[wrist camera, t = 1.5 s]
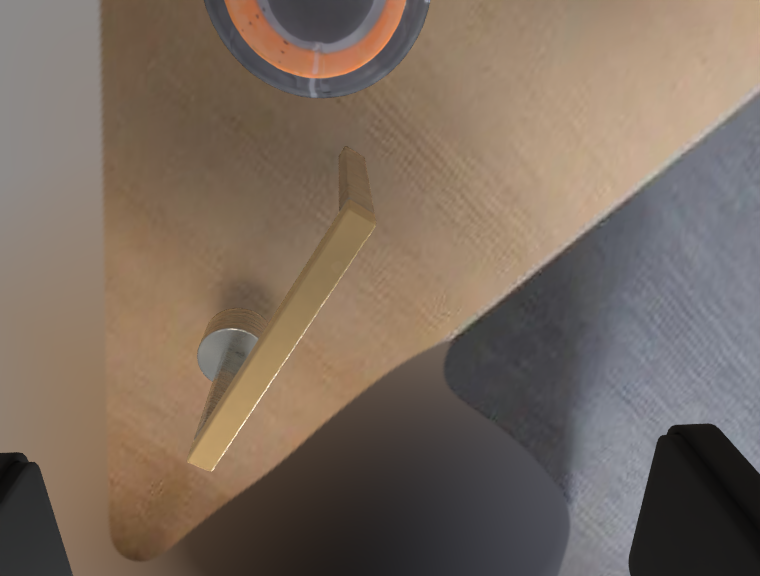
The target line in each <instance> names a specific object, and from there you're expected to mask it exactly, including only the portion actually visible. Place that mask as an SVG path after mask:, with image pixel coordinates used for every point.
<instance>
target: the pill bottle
mask: <svg viewBox="0 0 760 576" xmlns="http://www.w3.org/2000/svg"><path fill="white" fill-rule="evenodd" d="M204 2H205V6H206V9H207V11H208V14H209V16H210V19H211V21H212V24H213V25H214V27H215V29H216V31H217V33H218V35H219V37H220V38H221V40H222V41H223V43H224V44H225V45H226V47H227V48H228V49H229V51H230V52H231V53H232V55H233V56H234V57H235V58H236V59H237V60H238V61H239V62H240V63H241V64H242V65H243V66H244V67H245V68H246V69H247V70H249V71H250V72H251V73H252V74H253V75H255V76H256V77H258V78H259V79H261V80H262V81H264V82H266V83H268V84H269V85H271V86H273V87H275V88H277V89H279V90H282V91H284V92H287V93H290V94H294V95H298V96H301V97H309V98H331V97H338V96H345V95H348V94H352V93H355V92H357V91H360V90H362V89H364V88H367V87H369V86H371V85H373V84H374V83H376V82H377V81H379V80H380V79H382V78H383V77H385V76H386V75H387V74H388V73H390V72H391V71H392V70H393V69H394V68H395V67H396V66H397V65H398V64H399V63H400V62H401V61H402V60H403V58H404V57H405V56H406V55H407V53H408V51H409V50H410V49H411V47H412V46H413V44H414V42H415V40H416V39H417V37H418V35H419V33H420V31H421V29H422V27H423V24H424V21H425V18H426V15H427V12H428V8H429V4H430V0H204Z"/></svg>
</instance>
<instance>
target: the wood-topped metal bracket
mask: <svg viewBox="0 0 760 576" xmlns="http://www.w3.org/2000/svg"><path fill="white" fill-rule="evenodd" d="M375 226H376V219H375V214H374V207H373V202H372V196H371V190H370V185H369V179H368V173H367V168H366V162H365V158H364V157H363V156H362V155H360V154H359V153H357V152H355V151H354V150H352V149H350V148H349V147H347V146H345V147H344V148H343V150H342V152H341V153H340V155H339V214H338V215H337V217H336V218H335V220H334V222H333V223H332V225H331V226H330V228H329V229H328V231H327V233H326V234H325V236H324V237H323V239H322V240H321V242H320V244H319V245H318V247H317V248H316V250H315V251H314V253H313V255H312V256H311V258H310V259H309V261H308V262H307V264H306V266H305V267H304V269H303V270H302V272H301V273H300V275H299V277H298V278H297V280H296V281H295V283H294V284H293V286H292V288H291V289H290V291H289V292H288V294H287V295H286V297H285V299H284V300H283V302H282V303H281V305H280V306H279V308H278V310H277V311H276V313H275V314H274V316H273V317H272V319H271V321H270V322H269V324H268V323H267V321H266V320H265V319H264V318H263V317H262V316H260V315H259V314H257V313H255V312H253V311H251V310H248V309H243V308H233V309H228V310H224V311H222V312H220V313H218V314H217V315H215V316H214V317H213V318H212V319H211V321H210V322H209V324H208V326H207V328H206V330H205V333H204V335H203V338H202V340H201V343H200V345H199V348H198V353H197V359H198V364H199V367H200V369H201V371H202V372H203V374H204V375H205V376H206V377H207V378H208V379H209V380H211V381H212V382H213V383H212V386H211V389H210V392H209V395H208V398H207V401H206V404H205V407H204V410H203V413H202V416H201V420H200V423H199V426H198V429H197V432H196V435H195V438H194V442H193V443H192V446H191V449H190V452H189V455H188V458H187V462H188V463H191V464H193V465H196V466H198V467H200V468H203V469H205V470H208V471H213V469H214V468H215V466H216V465H217V463H218V462H219V460H220V459H221V457H222V456H223V454H224V453H225V451H226V450H227V448H228V447H229V445H230V444H231V442H232V441H233V439H234V438H235V436H236V435H237V433H238V432H239V430H240V429H241V427H242V426H243V424H244V423H245V421H246V420H247V418H248V417H249V415H250V414H251V412H252V411H253V409H254V408H255V406H256V405H257V403H258V402H259V400H260V399H261V397H262V396H263V394H264V393H265V391H266V390H267V388H268V387H269V385H270V384H271V382H272V381H273V379H274V378H275V376H276V375H277V373H278V372H279V370H280V369H281V367H282V366H283V364H284V363H285V361H286V360H287V358H288V357H289V355H290V354H291V352H292V351H293V349H294V348H295V346H296V345H297V343H298V342H299V340H300V339H301V337H302V336H303V334H304V333H305V331H306V330H307V328H308V327H309V325H310V324H311V322H312V321H313V319H314V318H315V316H316V315H317V313H318V312H319V310H320V309H321V307H322V306H323V304H324V303H325V301H326V300H327V298H328V297H329V295H330V294H331V292H332V291H333V289H334V288H335V286H336V285H337V283H338V282H339V280H340V279H341V277H342V276H343V274H344V273H345V271H346V270H347V268H348V267H349V265H350V264H351V262H352V261H353V259H354V258H355V256H356V255H357V253H358V252H359V250H360V249H361V247H362V246H363V244H364V243H365V241H366V240H367V238H368V237H369V235H370V234H371V232H372V231H373V229H374V228H375Z"/></svg>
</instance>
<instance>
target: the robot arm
mask: <svg viewBox="0 0 760 576" xmlns="http://www.w3.org/2000/svg"><path fill="white" fill-rule="evenodd" d="M629 571H630V575H631V576H760V474H759V473H758V472H757V471H756V469H755V468H754V467H753V466H752V465H751V464H750V463H749V462H748V460H747V459H746V458H745V457H744V456H743V455H742V454H741V453H740V452H739V450H738V449H737V448H736V447H735V446H734V445H733V444H732V443H731V441H730V440H729V439H728V438H727V437H726V436H725V435H724V434H723V433H722V431H721V430H720V429H719V428H717V427H716V426H715V425H712V424H687V425H674V426H672V427H671V428H670V429H669V430H668V432H667V435H662V436H660V438H659V439H658V441H657V445H656V449H655V453H654V457H653V461H652V465H651V469H650V473H649V477H648V481H647V485H646V489H645V493H644V498H643V502H642V506H641V510H640V514H639V518H638V522H637V526H636V530H635V534H634V538H633V542H632V546H631V550H630V554H629ZM0 576H73V574H72V571H71V568H70V564H69V561H68V558H67V555H66V551H65V548H64V545H63V542H62V538H61V535H60V532H59V529H58V526H57V523H56V519H55V516H54V513H53V510H52V506H51V503H50V500H49V497H48V493H47V490H46V487H45V484H44V480H43V477H42V474H41V471H40V468H39V466H38V465H37V464H36V463H35V462H29V461H28V460H27V457H26V456H25V455H24V454H23V453H17V452H16V453H15V452H14V453H0Z"/></svg>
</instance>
